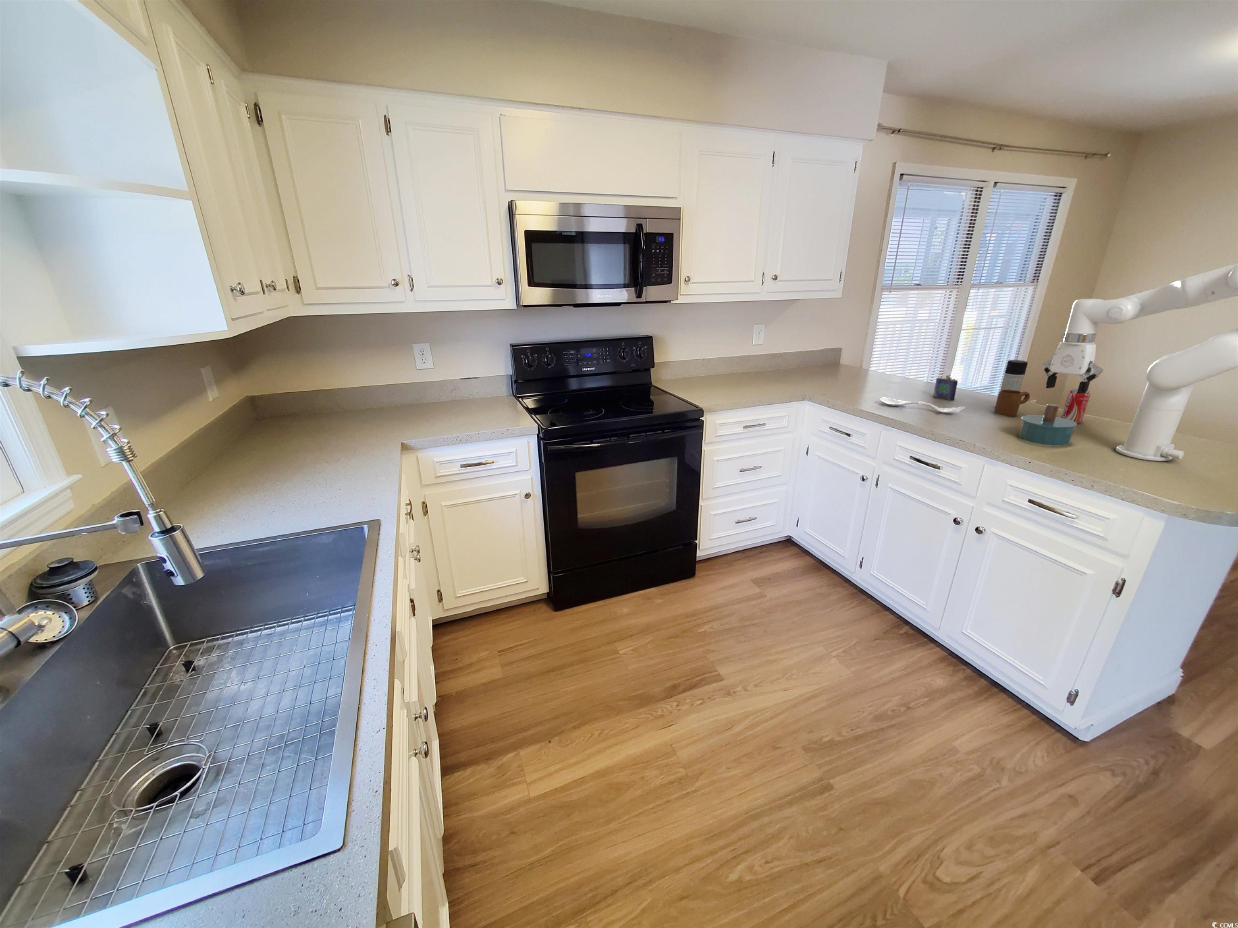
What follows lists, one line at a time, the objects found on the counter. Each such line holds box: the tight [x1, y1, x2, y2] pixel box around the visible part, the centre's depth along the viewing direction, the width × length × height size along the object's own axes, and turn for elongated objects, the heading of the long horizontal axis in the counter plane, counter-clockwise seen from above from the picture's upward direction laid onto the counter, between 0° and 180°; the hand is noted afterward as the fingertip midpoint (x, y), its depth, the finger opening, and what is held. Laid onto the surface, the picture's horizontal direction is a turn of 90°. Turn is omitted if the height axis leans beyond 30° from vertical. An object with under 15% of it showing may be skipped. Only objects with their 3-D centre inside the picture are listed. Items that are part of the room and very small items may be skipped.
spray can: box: [999, 359, 1029, 392], centre depth 204 cm, size 7×7×20 cm
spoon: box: [878, 397, 966, 414], centre depth 210 cm, size 9×32×4 cm, turn 41°
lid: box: [1020, 403, 1078, 429], centre depth 167 cm, size 15×15×7 cm
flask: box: [932, 374, 959, 401], centre depth 225 cm, size 9×3×11 cm, turn 28°
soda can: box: [1060, 388, 1091, 424], centre depth 187 cm, size 6×6×12 cm
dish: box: [1018, 421, 1076, 447], centre depth 169 cm, size 14×14×6 cm
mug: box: [993, 389, 1031, 418], centre depth 198 cm, size 12×8×9 cm, turn 93°
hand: (1065, 390), depth 166 cm, fingers open, 9 cm apart
